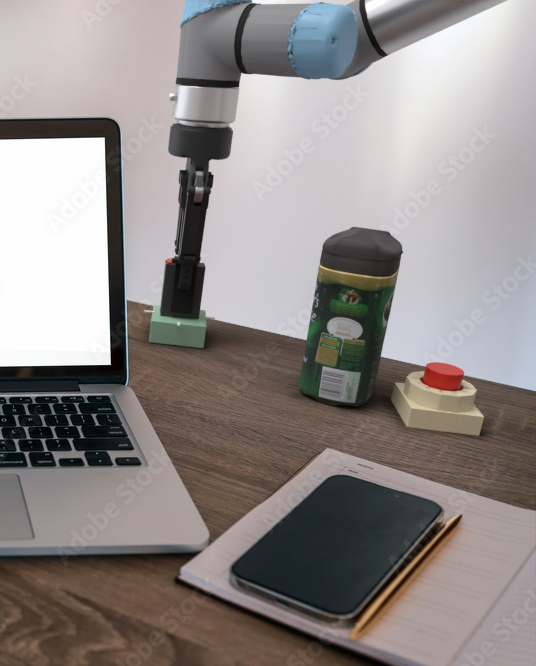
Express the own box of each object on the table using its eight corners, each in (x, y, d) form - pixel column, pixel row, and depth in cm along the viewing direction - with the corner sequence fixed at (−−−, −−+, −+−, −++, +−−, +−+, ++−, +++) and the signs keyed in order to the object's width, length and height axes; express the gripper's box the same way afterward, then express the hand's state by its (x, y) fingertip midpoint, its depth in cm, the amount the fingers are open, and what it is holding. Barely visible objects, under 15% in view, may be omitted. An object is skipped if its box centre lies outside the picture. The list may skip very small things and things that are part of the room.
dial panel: (210, 329, 106) (213, 307, 105) (212, 352, 98) (215, 329, 97) (143, 322, 108) (146, 300, 107) (139, 344, 99) (142, 321, 98)
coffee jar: (308, 370, 94) (336, 218, 88) (377, 386, 90) (411, 229, 84) (288, 397, 86) (317, 232, 80) (363, 415, 82) (400, 244, 76)
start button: (453, 382, 83) (458, 364, 82) (464, 395, 80) (469, 377, 79) (417, 378, 84) (422, 360, 83) (427, 391, 80) (431, 372, 80)
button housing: (457, 408, 85) (466, 374, 84) (479, 436, 79) (489, 400, 78) (390, 400, 87) (398, 367, 85) (406, 427, 80) (415, 392, 79)
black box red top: (197, 314, 103) (204, 261, 100) (198, 319, 101) (205, 265, 98) (159, 310, 103) (165, 257, 101) (160, 315, 101) (166, 262, 99)
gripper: (168, 117, 101) (150, 289, 109) (174, 126, 87) (152, 324, 95) (226, 120, 100) (204, 294, 108) (242, 130, 86) (214, 329, 94)
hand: (180, 308), depth 102 cm, fingers closed on black box red top, 2 cm apart
